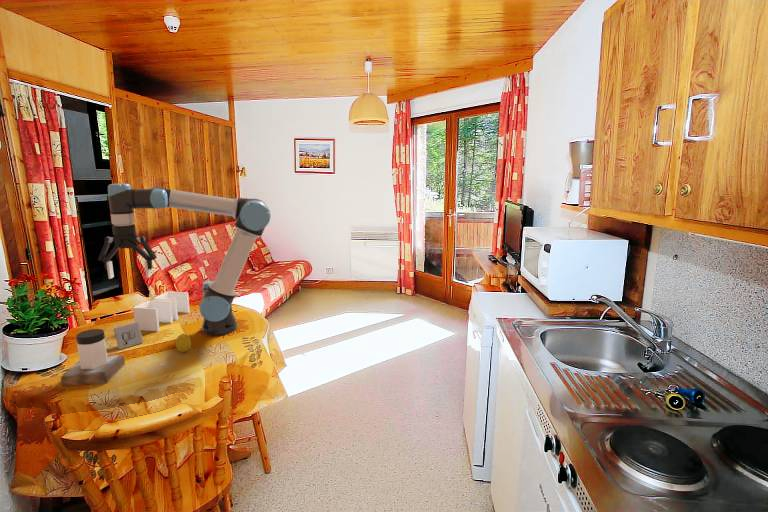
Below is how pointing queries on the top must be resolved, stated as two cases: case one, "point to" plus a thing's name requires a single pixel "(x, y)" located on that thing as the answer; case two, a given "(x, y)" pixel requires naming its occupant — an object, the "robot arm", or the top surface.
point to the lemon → (183, 342)
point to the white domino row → (161, 310)
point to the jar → (92, 349)
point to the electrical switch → (128, 335)
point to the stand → (93, 372)
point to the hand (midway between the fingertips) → (130, 277)
